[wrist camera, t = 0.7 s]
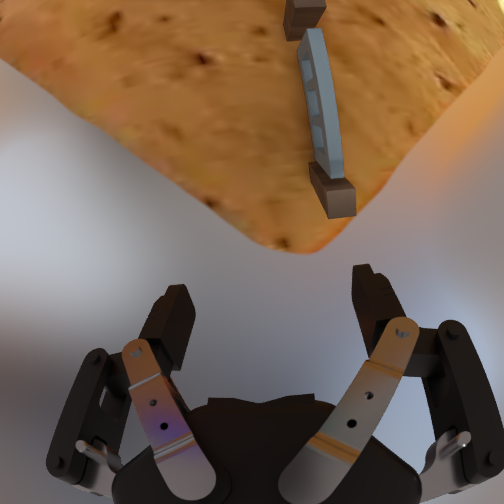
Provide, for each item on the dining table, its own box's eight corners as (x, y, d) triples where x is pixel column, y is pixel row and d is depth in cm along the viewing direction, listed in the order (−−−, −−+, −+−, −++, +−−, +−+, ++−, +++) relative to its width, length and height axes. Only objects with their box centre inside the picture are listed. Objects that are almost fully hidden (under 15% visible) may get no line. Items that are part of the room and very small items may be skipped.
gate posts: (283, 24, 23) (288, -16, 13) (304, 22, 23) (319, -17, 12) (310, 181, 33) (328, 219, 23) (329, 179, 33) (356, 215, 22)
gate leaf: (296, 51, 24) (306, 28, 16) (307, 50, 24) (321, 28, 15) (314, 158, 30) (330, 178, 22) (324, 157, 30) (344, 177, 22)
